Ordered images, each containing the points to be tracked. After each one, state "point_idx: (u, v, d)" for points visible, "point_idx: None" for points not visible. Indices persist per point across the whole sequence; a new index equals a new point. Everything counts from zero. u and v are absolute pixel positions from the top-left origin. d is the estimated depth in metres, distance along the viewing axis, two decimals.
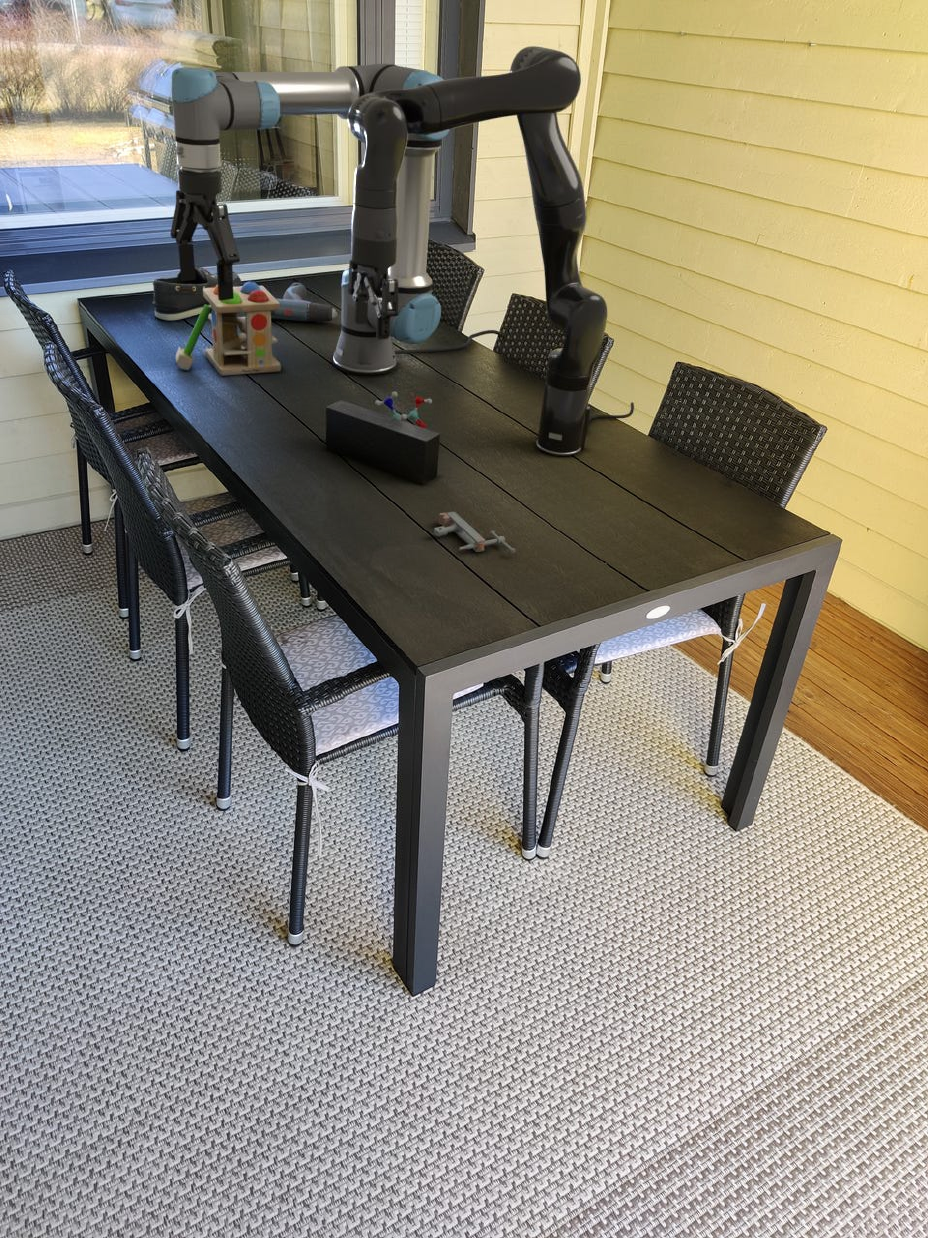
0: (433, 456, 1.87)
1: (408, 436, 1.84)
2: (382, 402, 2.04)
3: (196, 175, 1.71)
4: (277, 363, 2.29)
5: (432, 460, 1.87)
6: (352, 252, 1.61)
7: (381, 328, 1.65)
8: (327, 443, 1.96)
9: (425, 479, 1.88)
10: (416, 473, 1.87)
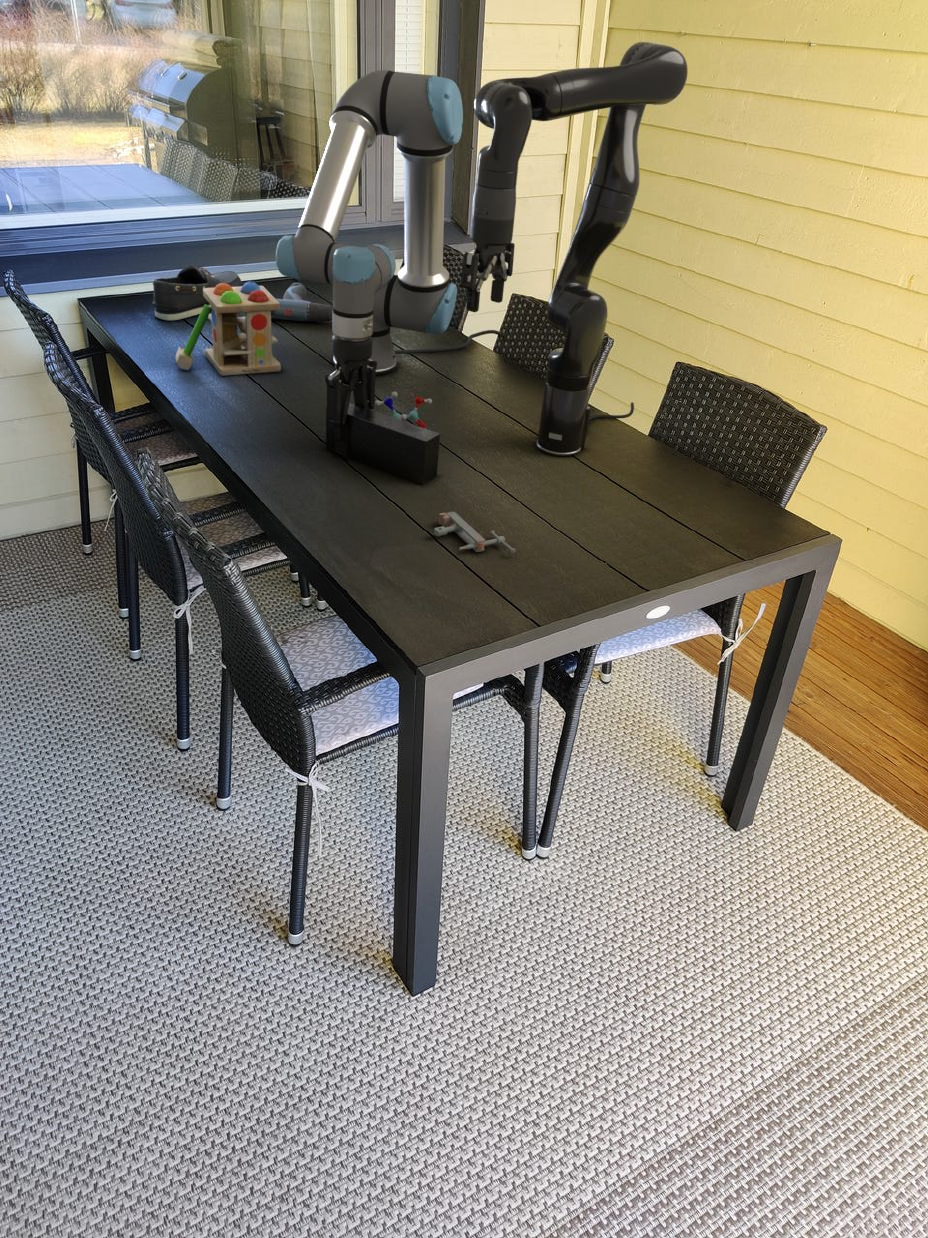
0: (433, 456, 1.87)
1: (408, 436, 1.84)
2: (382, 402, 2.04)
3: (371, 337, 1.85)
4: (277, 363, 2.29)
5: (432, 460, 1.87)
6: None
7: (467, 300, 1.75)
8: (327, 443, 1.96)
9: (425, 479, 1.88)
10: (416, 473, 1.87)
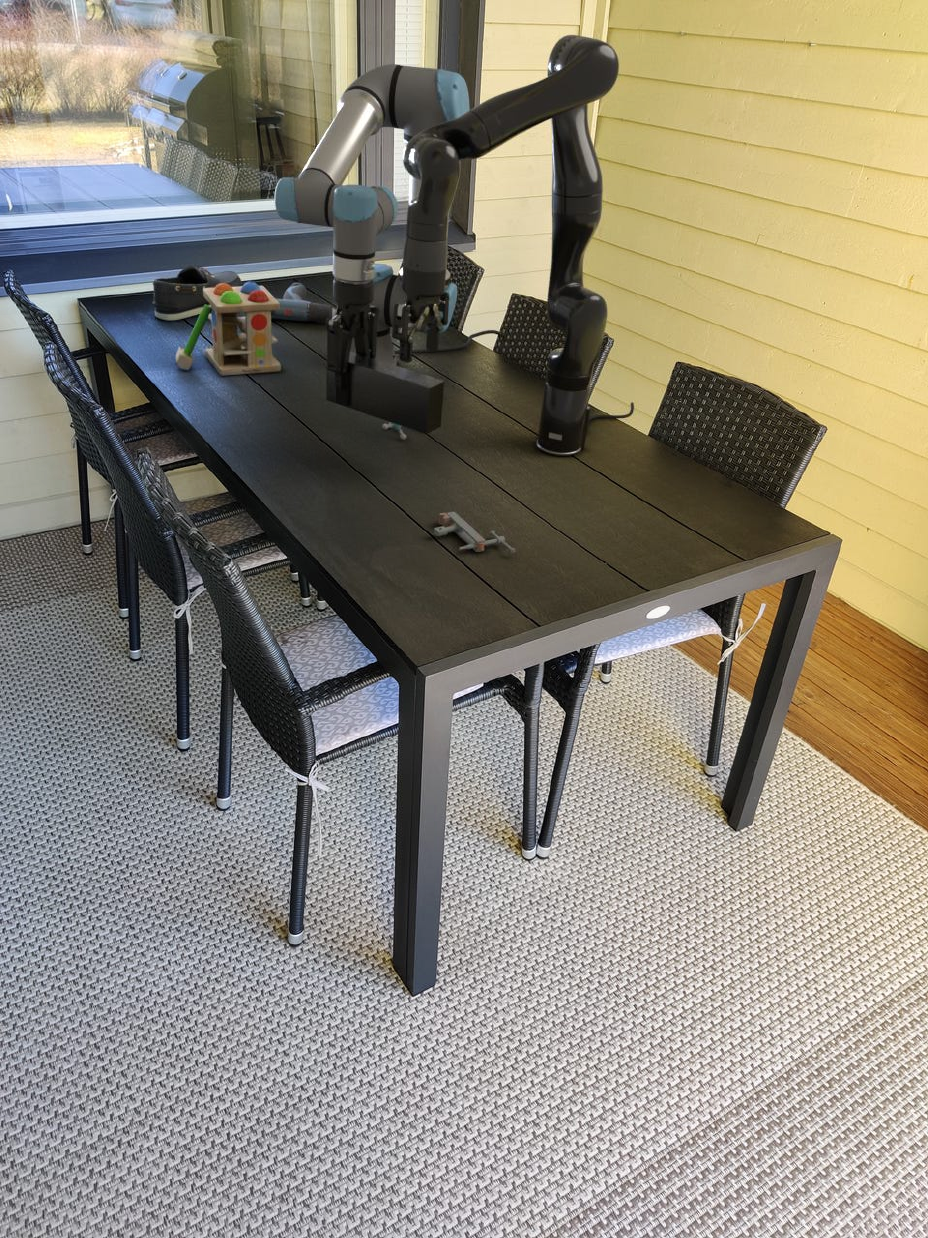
0: (437, 404, 1.81)
1: (411, 383, 1.78)
2: None
3: (372, 281, 1.79)
4: (277, 363, 2.29)
5: (436, 409, 1.81)
6: None
7: None
8: (328, 393, 1.90)
9: (429, 428, 1.82)
10: (419, 422, 1.81)
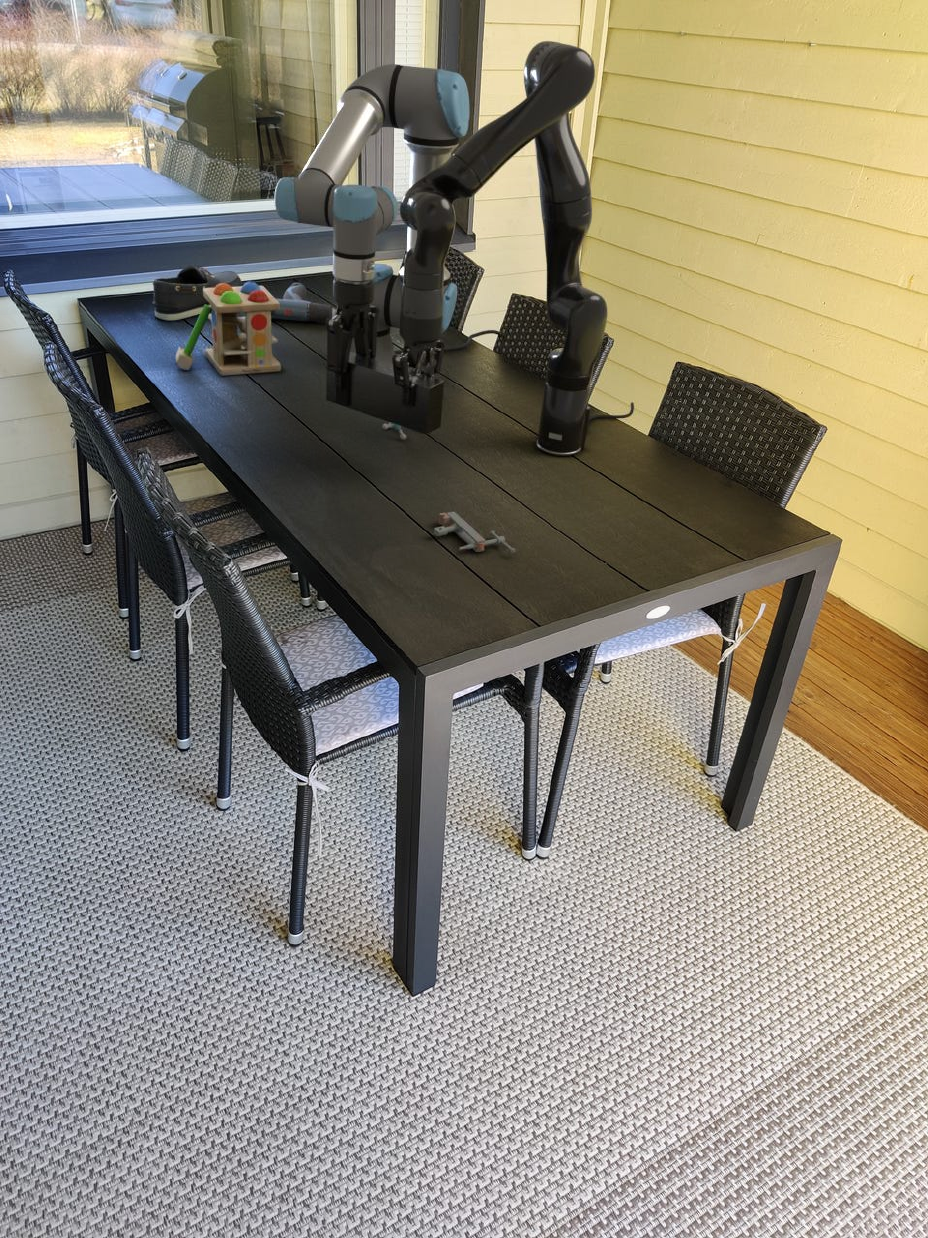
0: (437, 405, 1.81)
1: None
2: None
3: (372, 281, 1.79)
4: (277, 363, 2.29)
5: (435, 409, 1.81)
6: None
7: (402, 396, 1.79)
8: (327, 393, 1.90)
9: (429, 429, 1.82)
10: (419, 422, 1.81)
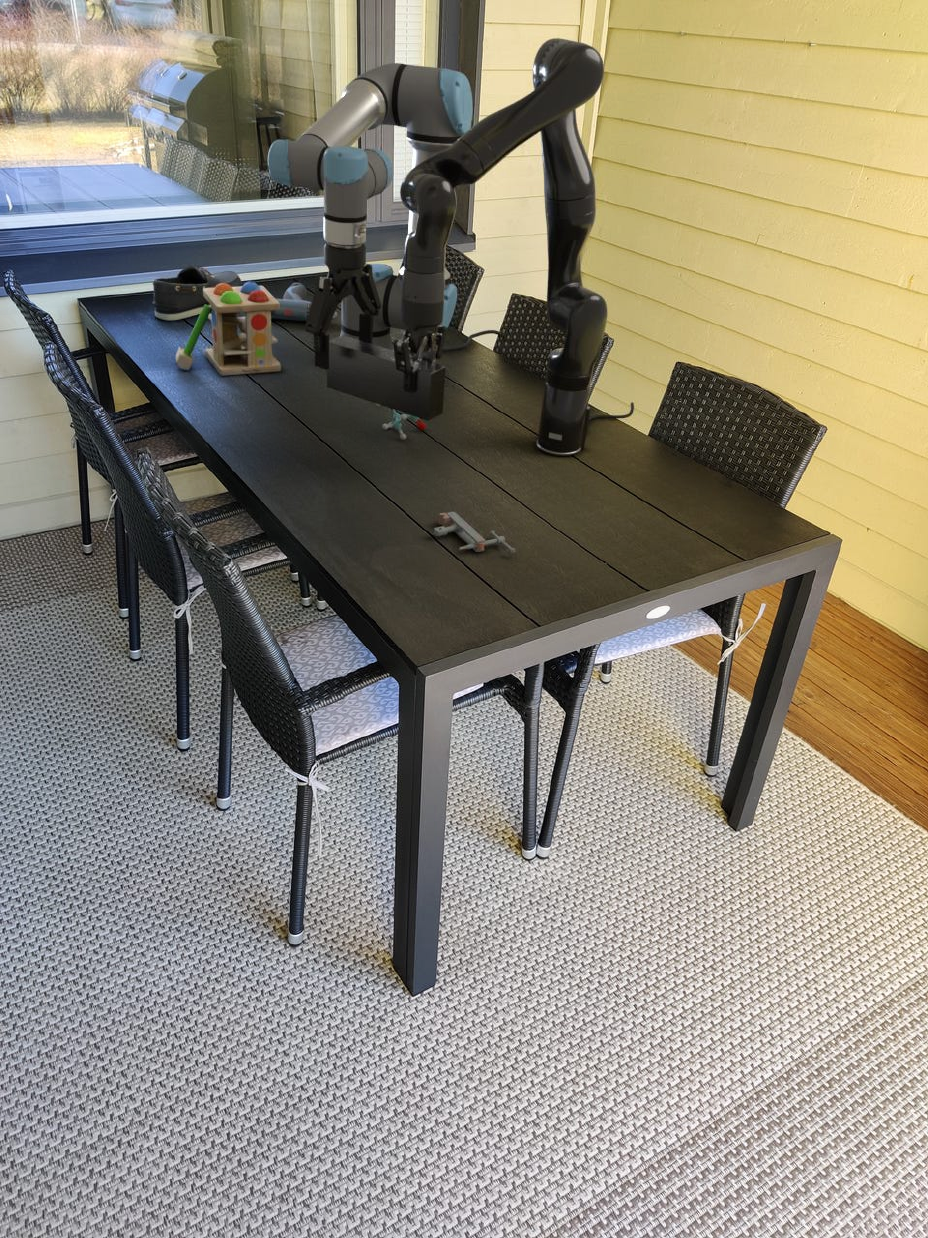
0: (438, 390, 1.80)
1: None
2: None
3: None
4: (277, 363, 2.29)
5: (437, 395, 1.80)
6: None
7: None
8: (328, 380, 1.89)
9: (430, 414, 1.80)
10: (421, 408, 1.80)
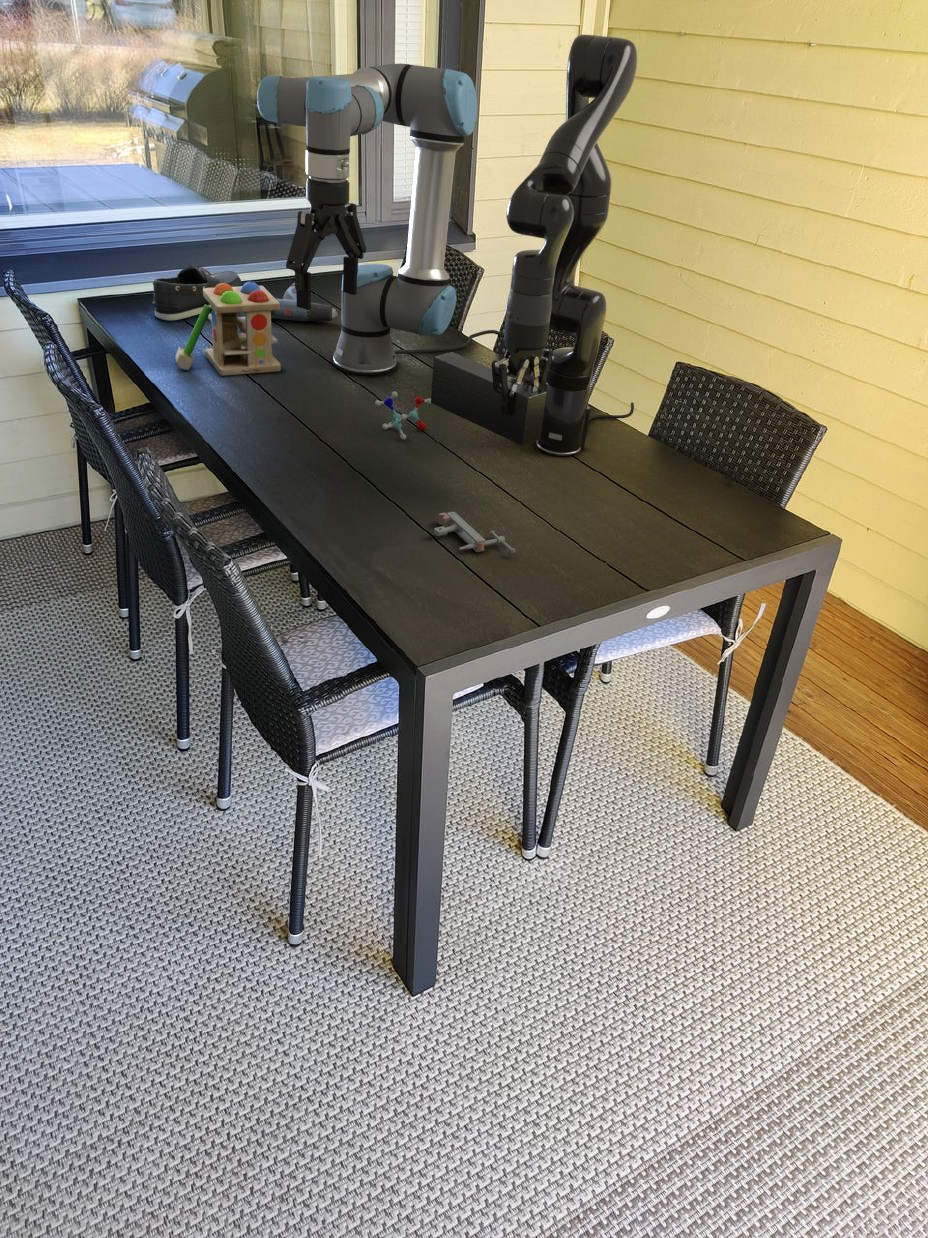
0: (537, 416, 1.73)
1: None
2: (382, 402, 2.04)
3: (347, 181, 1.73)
4: (277, 363, 2.29)
5: (535, 420, 1.73)
6: None
7: (501, 404, 1.72)
8: (432, 396, 1.86)
9: (526, 440, 1.74)
10: (516, 432, 1.74)
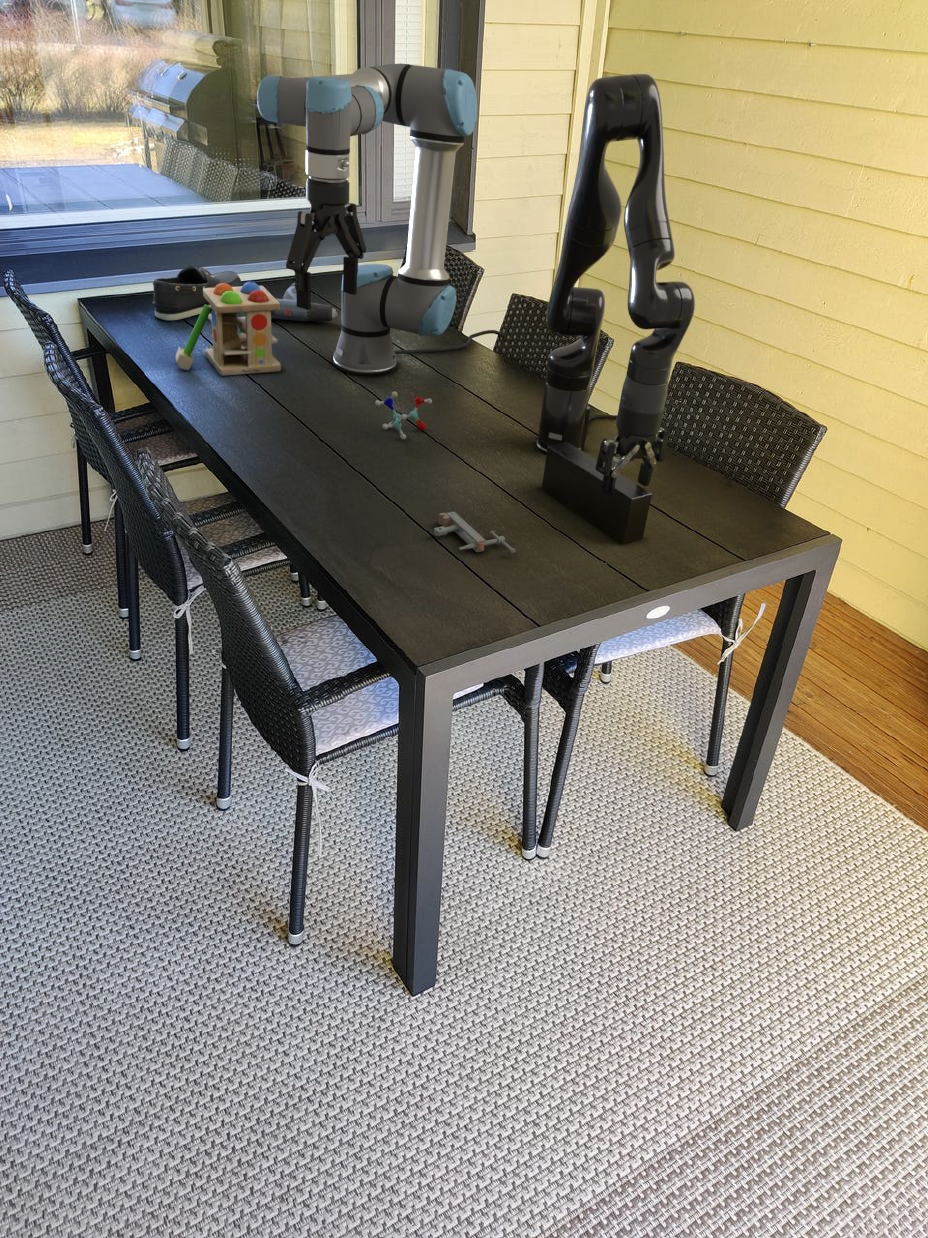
0: (640, 516, 1.74)
1: (616, 490, 1.73)
2: (382, 402, 2.04)
3: (347, 181, 1.73)
4: (277, 363, 2.29)
5: (638, 520, 1.74)
6: None
7: None
8: (543, 483, 1.89)
9: (627, 539, 1.75)
10: (618, 530, 1.75)
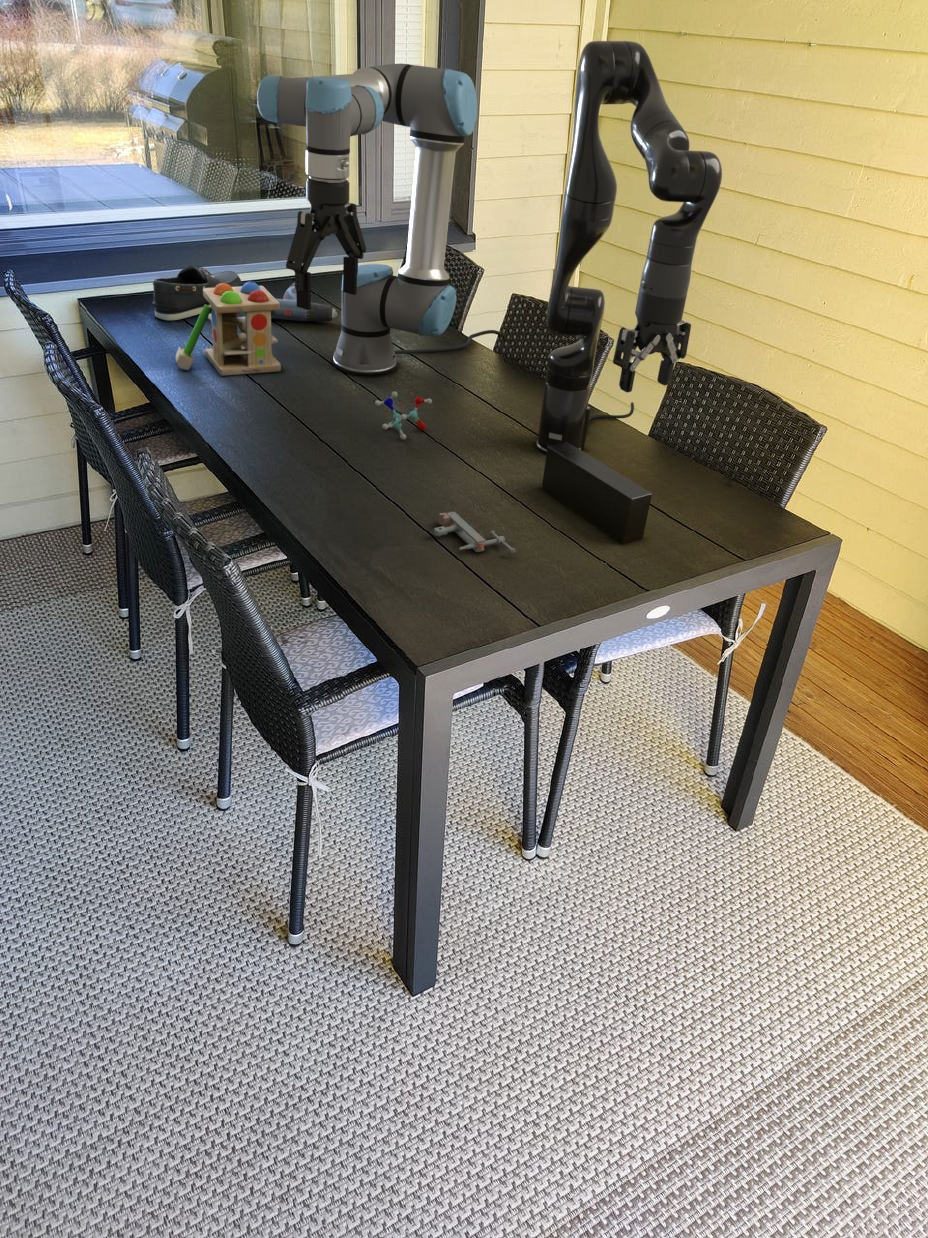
0: (640, 516, 1.74)
1: (616, 490, 1.73)
2: (382, 402, 2.04)
3: (347, 181, 1.73)
4: (277, 363, 2.29)
5: (638, 520, 1.74)
6: None
7: (620, 378, 1.60)
8: (543, 483, 1.89)
9: (627, 539, 1.75)
10: (618, 530, 1.75)
